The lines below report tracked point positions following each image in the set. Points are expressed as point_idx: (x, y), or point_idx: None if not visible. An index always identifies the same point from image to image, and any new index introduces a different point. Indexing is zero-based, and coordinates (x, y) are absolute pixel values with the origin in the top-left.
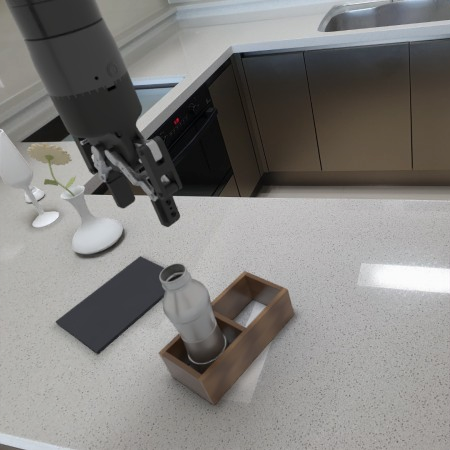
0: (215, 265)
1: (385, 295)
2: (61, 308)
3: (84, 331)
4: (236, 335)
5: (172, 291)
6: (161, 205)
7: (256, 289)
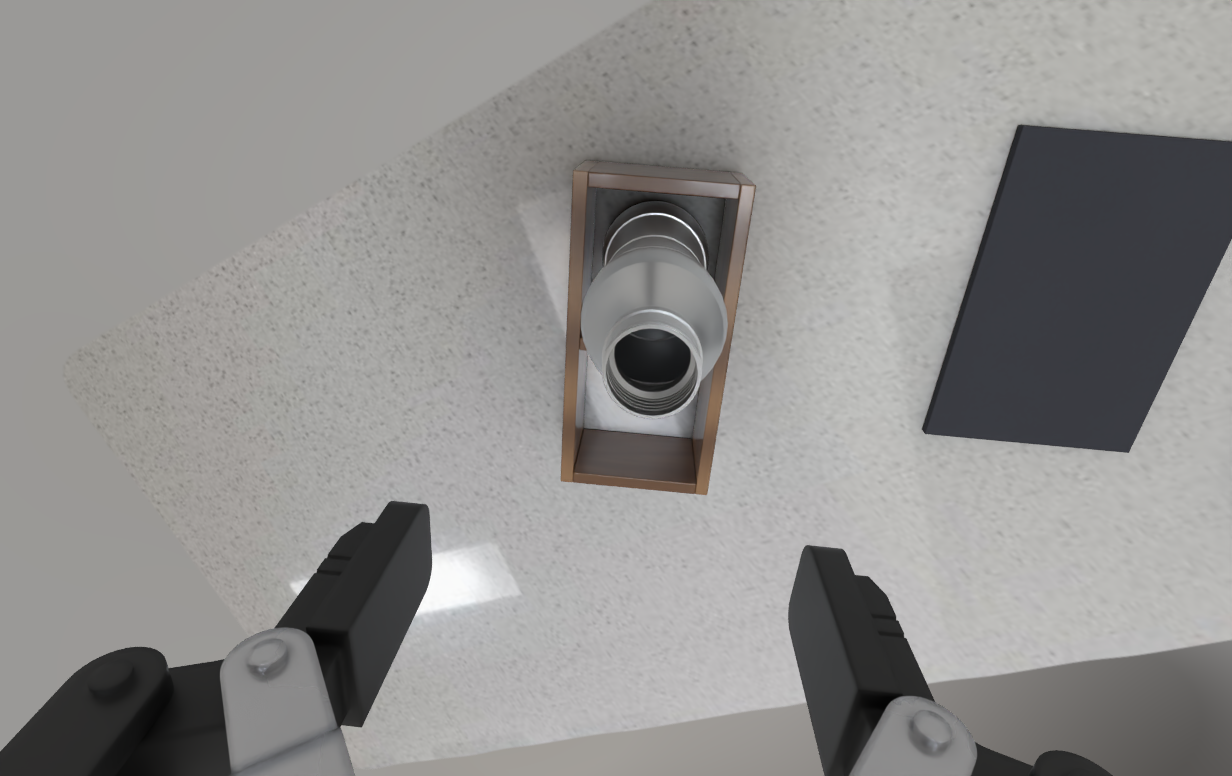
0: (861, 493)
1: None
2: None
3: (1125, 163)
4: None
5: (628, 314)
6: (309, 610)
7: (666, 459)
